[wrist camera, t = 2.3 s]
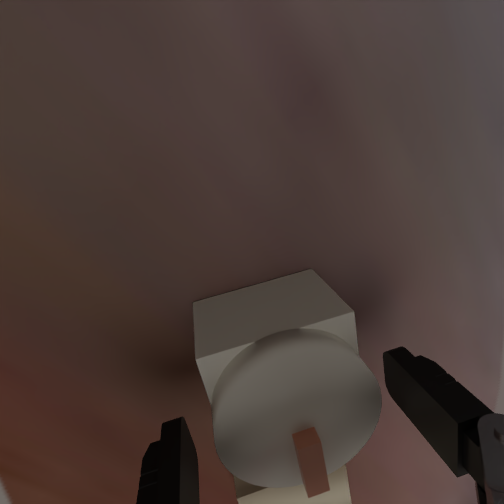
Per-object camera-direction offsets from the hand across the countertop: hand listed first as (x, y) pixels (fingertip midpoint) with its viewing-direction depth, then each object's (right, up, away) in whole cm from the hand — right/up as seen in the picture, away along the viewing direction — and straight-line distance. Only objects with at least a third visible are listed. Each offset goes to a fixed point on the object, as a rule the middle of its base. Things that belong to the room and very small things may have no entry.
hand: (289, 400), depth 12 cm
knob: (-1, +2, +3) cm, 4 cm away
